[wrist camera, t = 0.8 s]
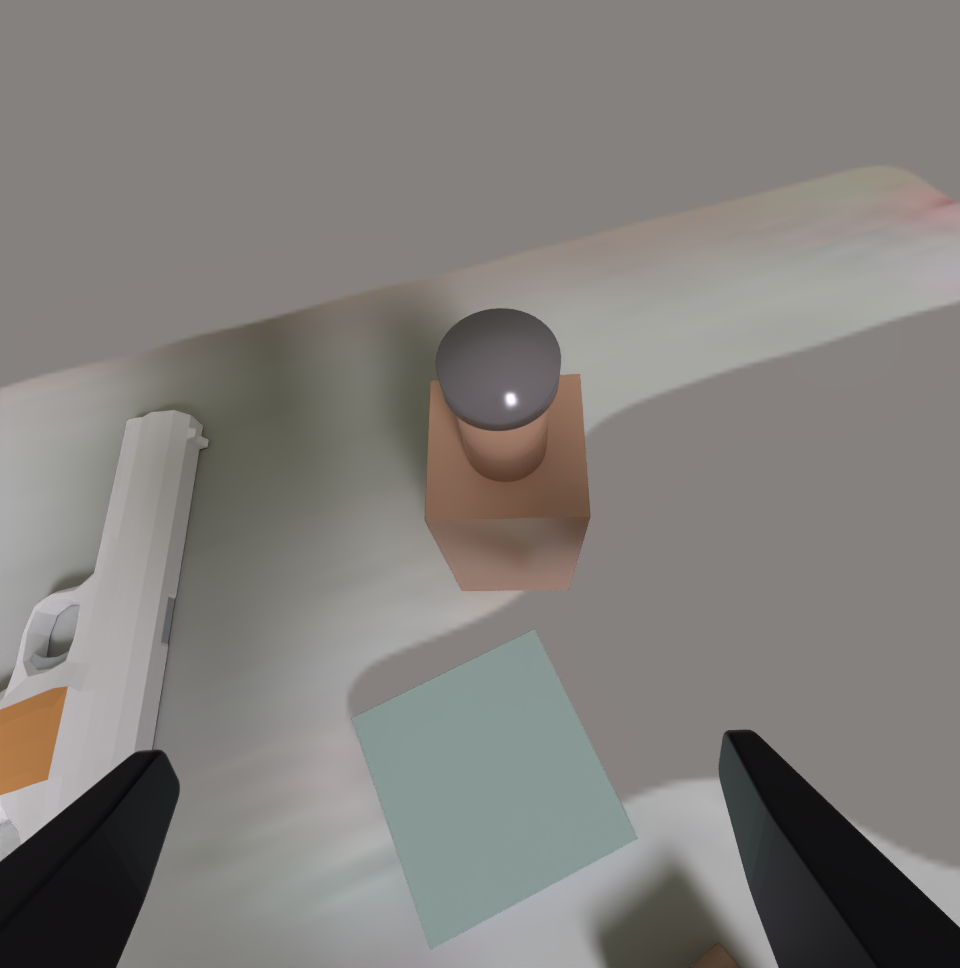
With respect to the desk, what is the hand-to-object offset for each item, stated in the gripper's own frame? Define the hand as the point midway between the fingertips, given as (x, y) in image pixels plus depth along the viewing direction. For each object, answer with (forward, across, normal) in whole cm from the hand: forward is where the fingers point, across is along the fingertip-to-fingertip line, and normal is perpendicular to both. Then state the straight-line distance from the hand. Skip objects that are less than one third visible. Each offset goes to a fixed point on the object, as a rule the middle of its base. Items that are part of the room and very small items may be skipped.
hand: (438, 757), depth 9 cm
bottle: (+16, -1, +6) cm, 17 cm away
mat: (+8, 0, +12) cm, 15 cm away
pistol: (+14, +19, +8) cm, 25 cm away
